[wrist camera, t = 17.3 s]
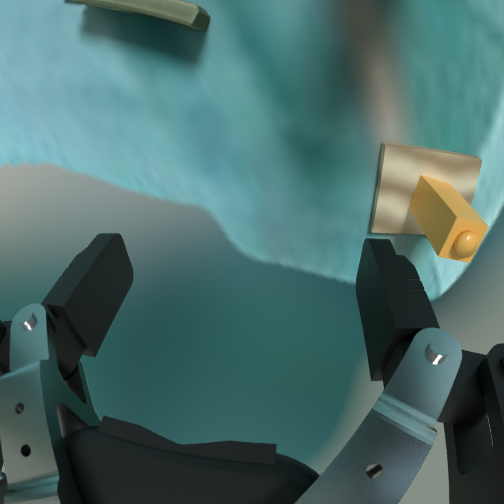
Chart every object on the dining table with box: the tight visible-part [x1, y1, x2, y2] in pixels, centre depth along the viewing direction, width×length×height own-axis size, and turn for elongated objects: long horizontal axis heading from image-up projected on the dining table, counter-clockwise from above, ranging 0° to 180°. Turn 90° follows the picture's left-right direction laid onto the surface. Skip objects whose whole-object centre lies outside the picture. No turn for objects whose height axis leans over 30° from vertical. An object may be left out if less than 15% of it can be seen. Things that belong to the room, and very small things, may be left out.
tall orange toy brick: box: [409, 175, 488, 263], centre depth 34 cm, size 6×6×13 cm
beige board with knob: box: [370, 142, 482, 235], centre depth 39 cm, size 14×17×6 cm
